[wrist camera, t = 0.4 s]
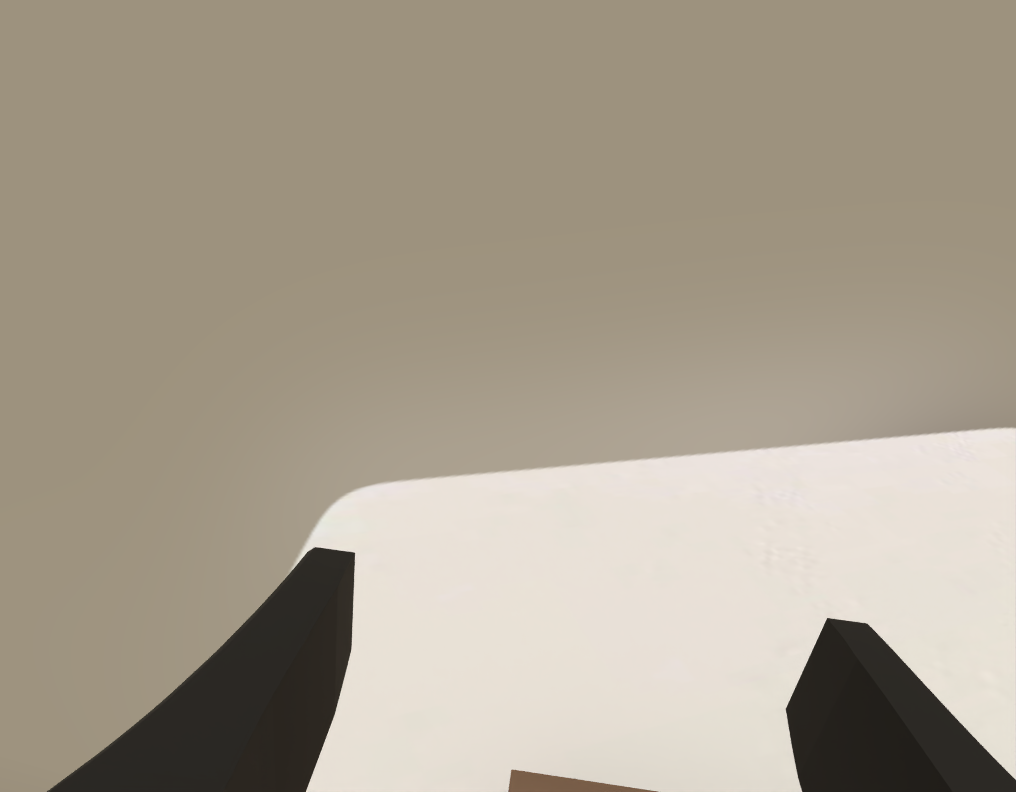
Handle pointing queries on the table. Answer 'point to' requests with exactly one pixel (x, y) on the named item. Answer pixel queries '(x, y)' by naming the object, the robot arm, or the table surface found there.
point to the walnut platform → (559, 784)
